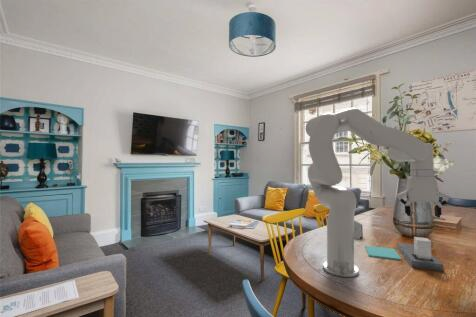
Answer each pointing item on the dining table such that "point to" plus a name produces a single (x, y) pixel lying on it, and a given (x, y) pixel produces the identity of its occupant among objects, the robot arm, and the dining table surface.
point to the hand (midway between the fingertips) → (422, 216)
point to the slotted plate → (408, 254)
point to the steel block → (422, 249)
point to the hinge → (358, 230)
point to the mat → (382, 252)
